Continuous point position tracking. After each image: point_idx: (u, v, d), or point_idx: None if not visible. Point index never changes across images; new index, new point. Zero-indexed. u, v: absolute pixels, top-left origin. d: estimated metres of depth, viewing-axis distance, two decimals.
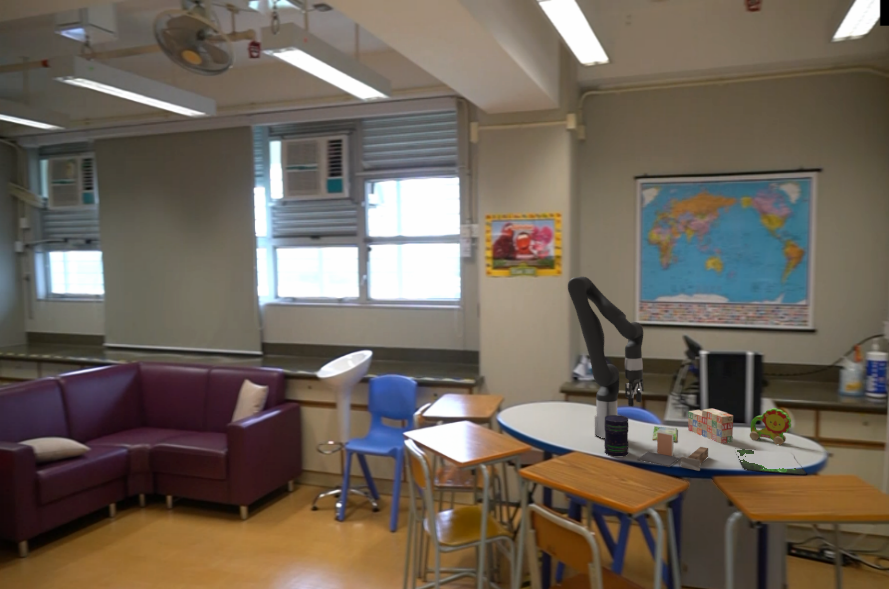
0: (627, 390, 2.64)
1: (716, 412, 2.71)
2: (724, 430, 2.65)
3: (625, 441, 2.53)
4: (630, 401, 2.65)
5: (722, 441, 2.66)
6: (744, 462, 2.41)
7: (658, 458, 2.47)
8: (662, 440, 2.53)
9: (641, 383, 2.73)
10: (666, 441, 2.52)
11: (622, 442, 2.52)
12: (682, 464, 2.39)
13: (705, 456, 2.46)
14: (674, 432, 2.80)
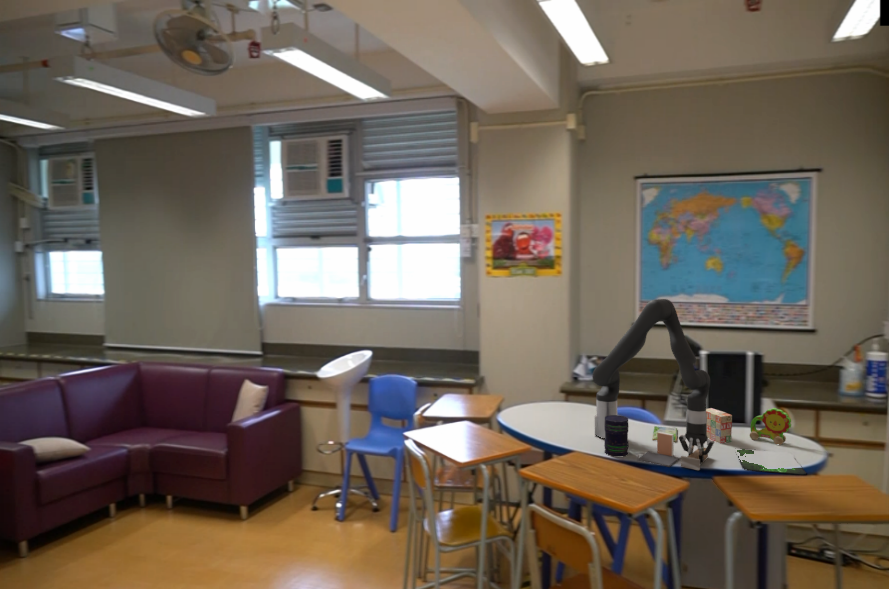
0: (710, 448, 2.38)
1: (715, 412, 2.72)
2: (723, 430, 2.66)
3: (625, 441, 2.53)
4: (703, 458, 2.41)
5: (721, 441, 2.66)
6: (744, 462, 2.41)
7: (658, 458, 2.47)
8: (662, 440, 2.53)
9: (684, 440, 2.46)
10: (666, 441, 2.52)
11: (622, 442, 2.52)
12: (682, 463, 2.39)
13: (705, 456, 2.46)
14: (674, 432, 2.80)
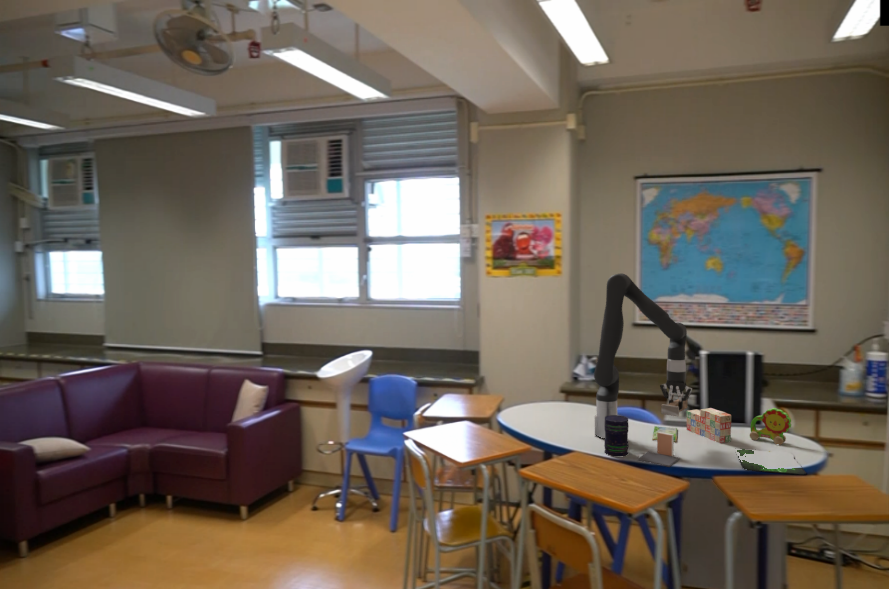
0: (688, 395, 2.57)
1: (714, 412, 2.72)
2: (722, 429, 2.66)
3: (625, 441, 2.53)
4: (682, 404, 2.60)
5: (720, 440, 2.67)
6: (744, 462, 2.41)
7: (658, 458, 2.47)
8: (662, 440, 2.53)
9: (665, 388, 2.65)
10: (666, 441, 2.52)
11: (622, 442, 2.52)
12: (662, 411, 2.58)
13: (684, 405, 2.65)
14: (674, 432, 2.80)
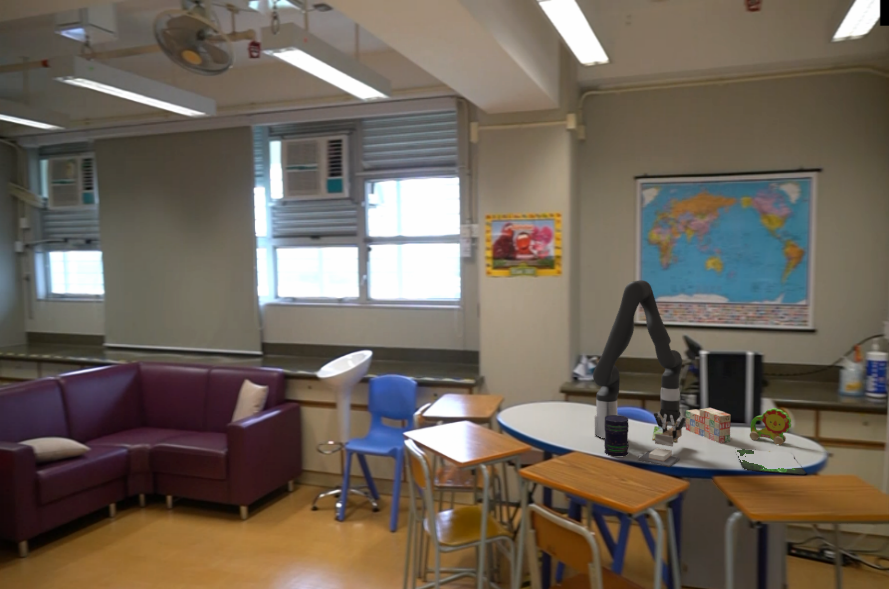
0: (683, 424, 2.53)
1: (714, 411, 2.72)
2: (722, 429, 2.67)
3: (625, 441, 2.53)
4: (676, 433, 2.55)
5: (720, 440, 2.67)
6: (744, 462, 2.41)
7: None
8: None
9: (659, 416, 2.60)
10: None
11: (622, 442, 2.52)
12: (656, 440, 2.53)
13: (678, 434, 2.61)
14: None
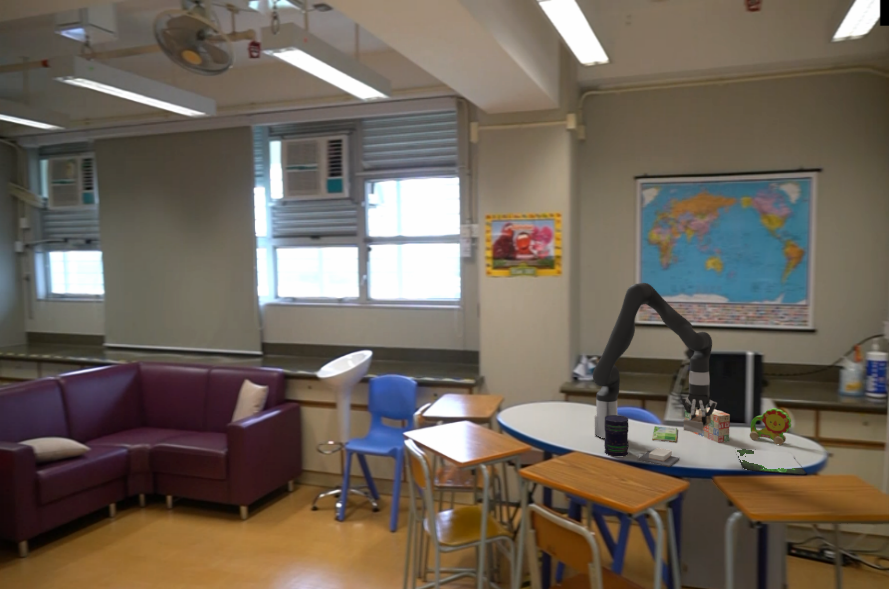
0: (713, 409, 2.39)
1: (713, 411, 2.73)
2: (721, 429, 2.67)
3: (625, 441, 2.53)
4: (706, 420, 2.42)
5: (719, 440, 2.67)
6: (744, 462, 2.42)
7: None
8: None
9: (687, 402, 2.47)
10: None
11: (622, 442, 2.52)
12: (685, 427, 2.40)
13: (708, 421, 2.48)
14: (674, 432, 2.80)
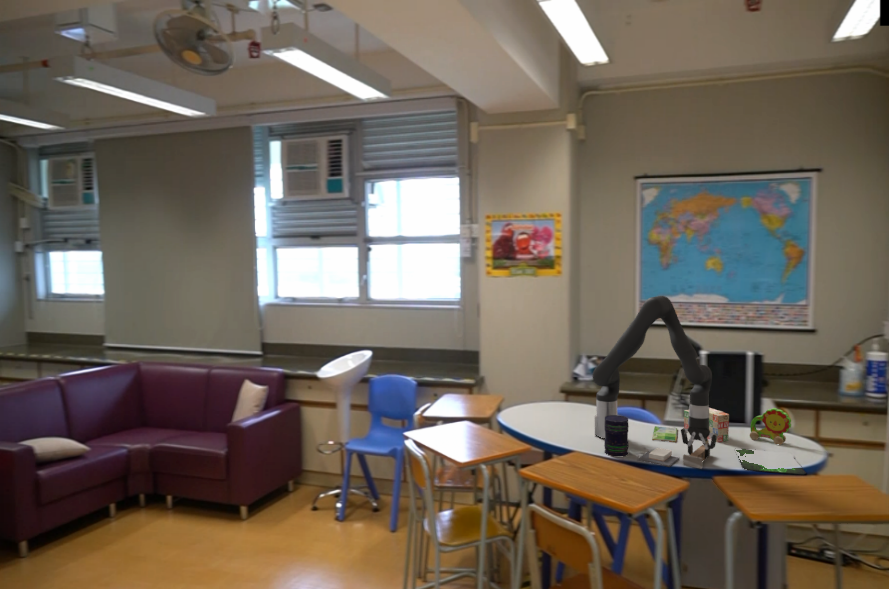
0: (715, 441, 2.40)
1: (712, 411, 2.73)
2: (720, 429, 2.67)
3: (625, 441, 2.53)
4: (709, 452, 2.42)
5: (718, 440, 2.68)
6: (744, 462, 2.42)
7: None
8: None
9: None
10: None
11: (622, 442, 2.52)
12: (684, 462, 2.41)
13: None
14: (674, 432, 2.80)
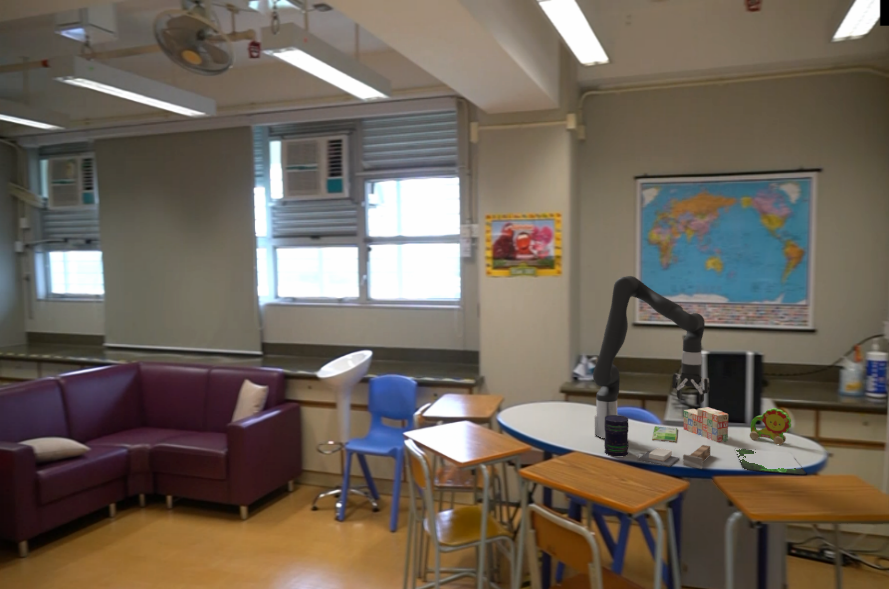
0: (708, 385, 2.45)
1: (711, 411, 2.73)
2: (720, 428, 2.68)
3: (625, 441, 2.53)
4: (703, 397, 2.47)
5: (718, 439, 2.68)
6: (744, 462, 2.42)
7: None
8: None
9: (677, 378, 2.54)
10: None
11: (622, 442, 2.52)
12: (684, 462, 2.41)
13: (707, 454, 2.49)
14: (674, 432, 2.80)
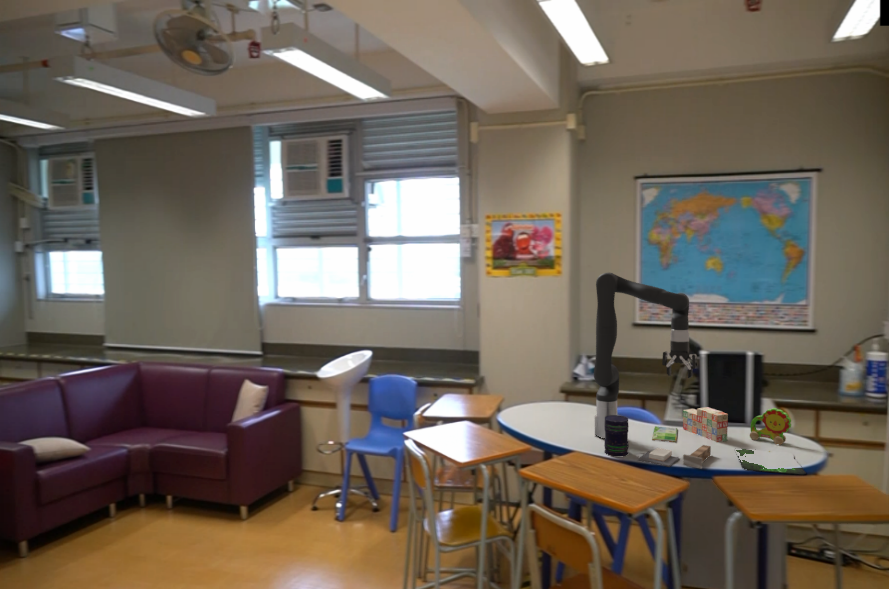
0: (695, 361, 2.58)
1: (711, 411, 2.74)
2: (719, 428, 2.68)
3: (625, 441, 2.53)
4: (692, 372, 2.60)
5: (717, 439, 2.68)
6: (744, 462, 2.42)
7: None
8: None
9: None
10: None
11: (622, 442, 2.52)
12: (684, 462, 2.41)
13: (707, 454, 2.49)
14: (674, 432, 2.80)
